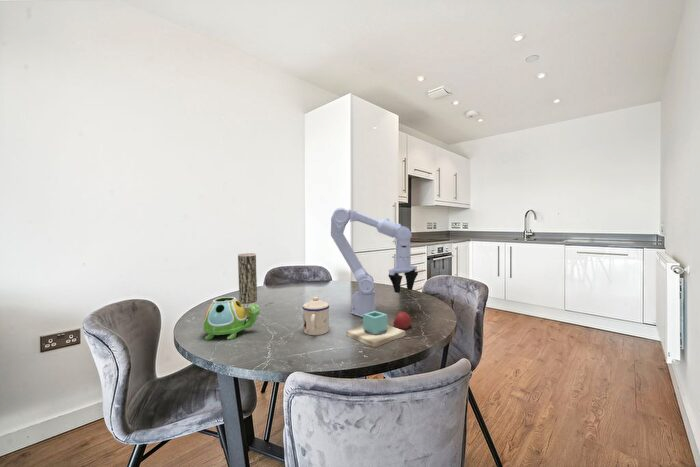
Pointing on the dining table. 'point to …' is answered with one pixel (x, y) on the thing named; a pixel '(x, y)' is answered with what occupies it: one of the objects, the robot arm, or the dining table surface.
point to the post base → (375, 336)
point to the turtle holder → (228, 317)
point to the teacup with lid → (316, 317)
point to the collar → (375, 322)
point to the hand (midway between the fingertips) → (403, 291)
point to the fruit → (402, 320)
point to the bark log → (247, 280)
